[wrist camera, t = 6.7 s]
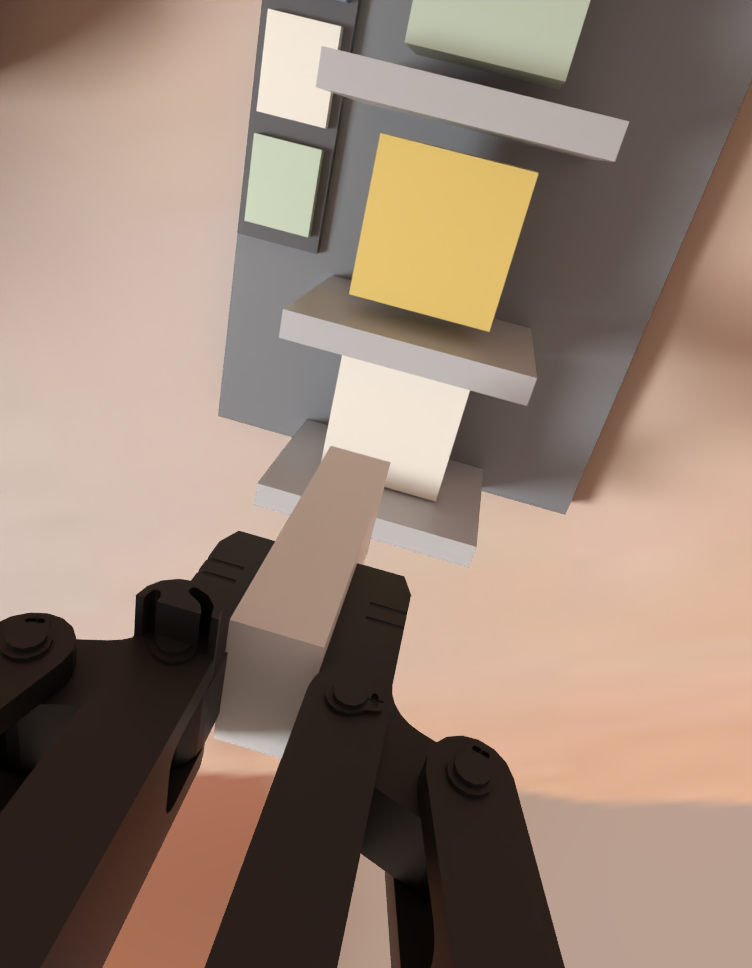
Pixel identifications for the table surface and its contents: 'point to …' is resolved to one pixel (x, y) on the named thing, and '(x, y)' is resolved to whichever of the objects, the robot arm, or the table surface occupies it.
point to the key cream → (396, 423)
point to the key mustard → (440, 230)
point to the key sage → (500, 35)
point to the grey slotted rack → (537, 257)
